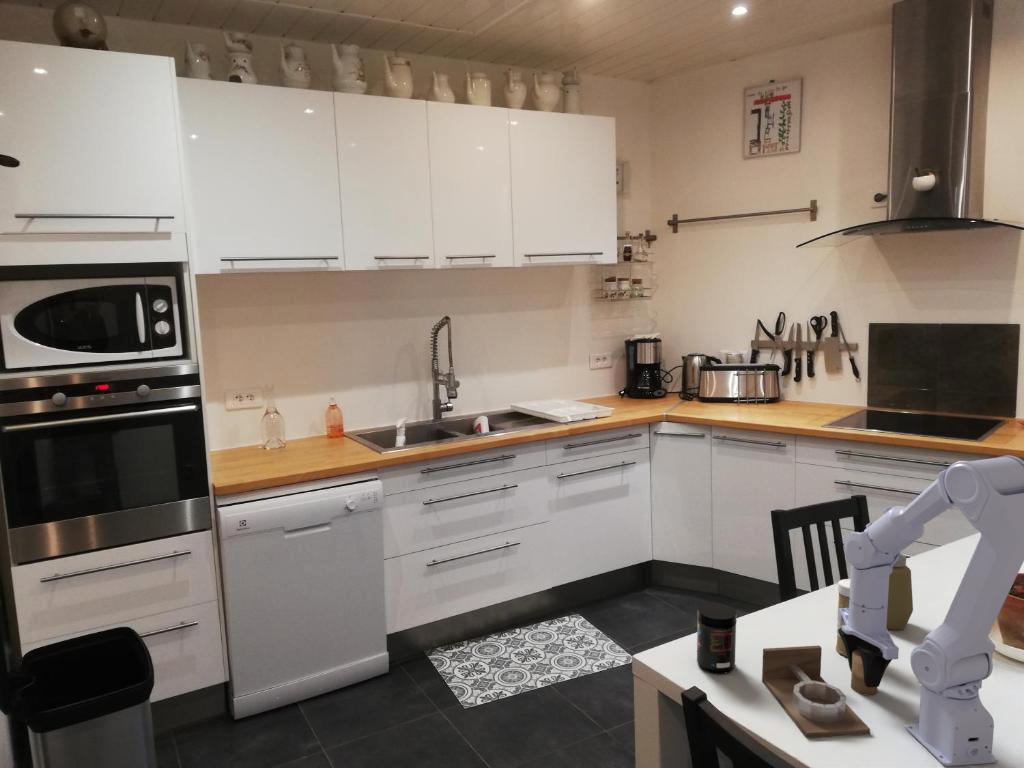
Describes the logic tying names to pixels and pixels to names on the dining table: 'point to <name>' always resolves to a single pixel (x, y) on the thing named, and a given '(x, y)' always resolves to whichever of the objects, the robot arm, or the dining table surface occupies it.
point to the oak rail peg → (859, 676)
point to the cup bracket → (808, 693)
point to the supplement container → (716, 637)
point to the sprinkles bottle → (843, 603)
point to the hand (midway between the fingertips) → (864, 678)
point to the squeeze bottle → (899, 595)
